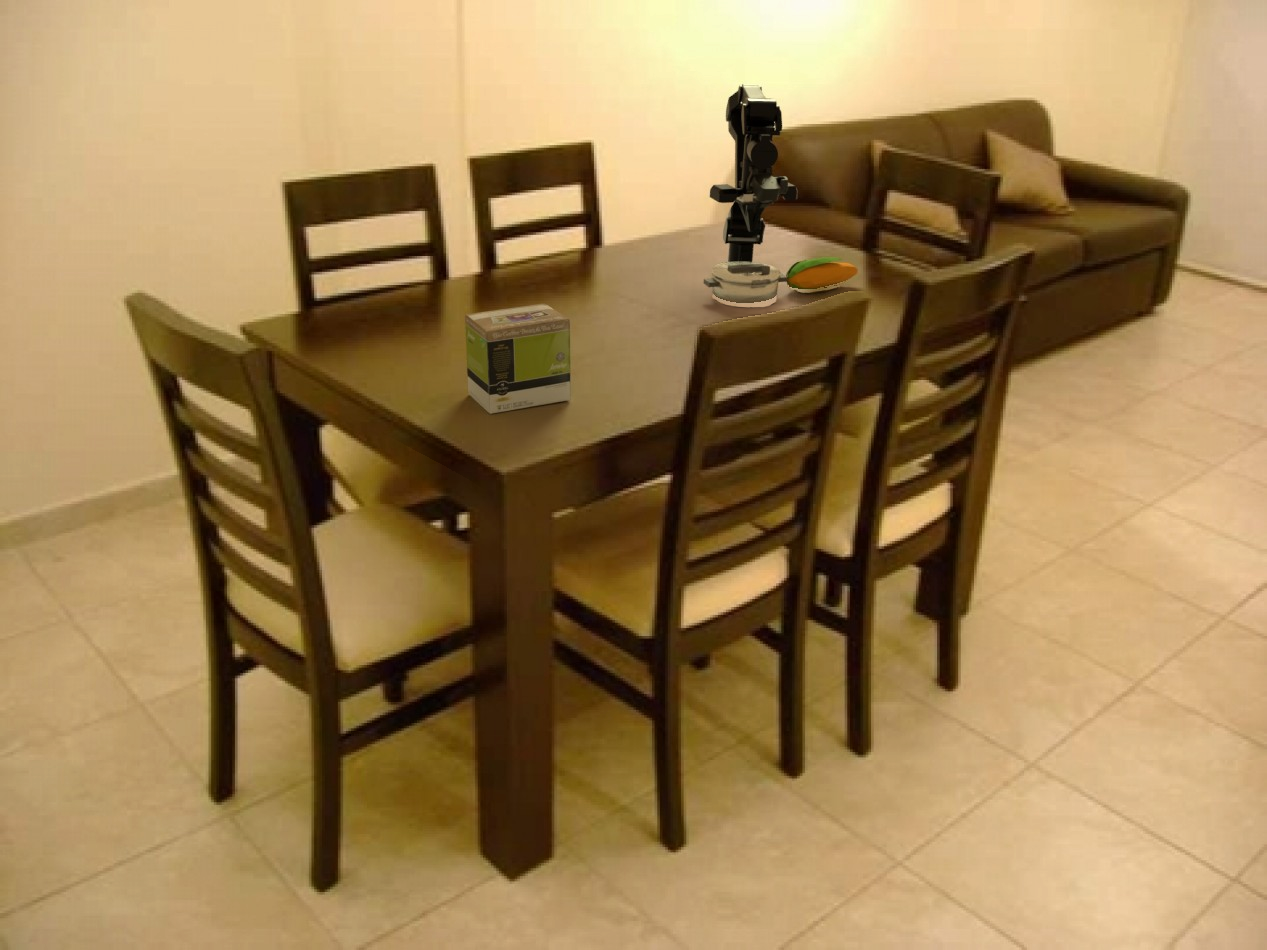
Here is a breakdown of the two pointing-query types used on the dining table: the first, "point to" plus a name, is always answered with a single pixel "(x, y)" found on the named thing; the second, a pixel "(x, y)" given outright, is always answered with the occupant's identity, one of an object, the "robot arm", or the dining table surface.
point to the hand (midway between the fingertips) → (750, 231)
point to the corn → (819, 273)
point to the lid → (746, 273)
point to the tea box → (518, 357)
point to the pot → (743, 290)
